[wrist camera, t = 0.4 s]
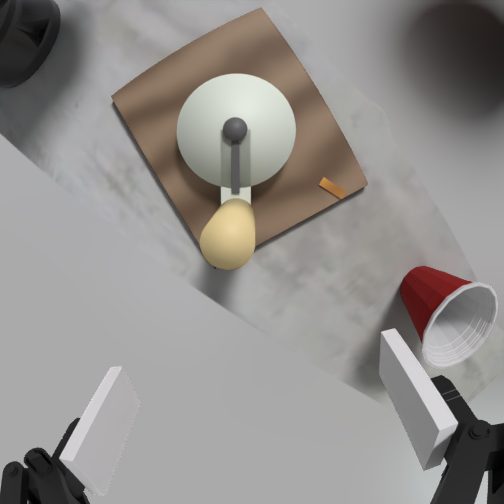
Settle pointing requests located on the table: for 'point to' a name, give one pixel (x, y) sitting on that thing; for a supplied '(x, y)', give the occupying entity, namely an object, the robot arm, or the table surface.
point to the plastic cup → (448, 314)
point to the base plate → (280, 76)
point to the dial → (234, 155)
